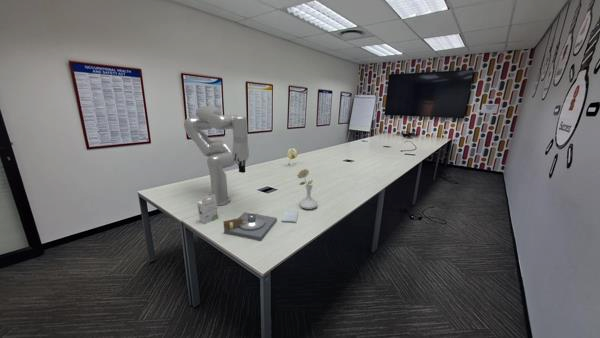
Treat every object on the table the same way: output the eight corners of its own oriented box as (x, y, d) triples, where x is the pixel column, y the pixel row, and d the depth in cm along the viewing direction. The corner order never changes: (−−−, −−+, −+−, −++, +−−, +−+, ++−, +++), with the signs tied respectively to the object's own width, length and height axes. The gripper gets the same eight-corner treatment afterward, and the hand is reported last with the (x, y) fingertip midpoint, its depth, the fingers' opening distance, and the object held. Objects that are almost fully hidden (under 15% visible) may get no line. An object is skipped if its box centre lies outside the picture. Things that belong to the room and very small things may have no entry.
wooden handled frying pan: (227, 236, 109) (226, 228, 108) (221, 222, 121) (221, 215, 120) (269, 226, 119) (269, 218, 118) (260, 214, 131) (260, 207, 129)
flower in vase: (314, 202, 153) (316, 165, 146) (319, 210, 143) (321, 171, 135) (295, 203, 151) (296, 166, 144) (298, 211, 140) (299, 172, 133)
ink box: (213, 215, 133) (211, 191, 129) (218, 218, 130) (216, 193, 126) (199, 221, 127) (196, 196, 123) (203, 224, 124) (201, 198, 120)
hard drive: (296, 221, 127) (298, 211, 139) (281, 220, 127) (284, 210, 139) (296, 224, 127) (298, 213, 139) (281, 223, 128) (284, 212, 140)
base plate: (224, 233, 116) (223, 222, 114) (244, 215, 134) (244, 205, 132) (260, 240, 110) (260, 229, 109) (276, 221, 129) (276, 211, 127)
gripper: (241, 137, 133) (243, 167, 138) (226, 141, 119) (228, 175, 125) (253, 138, 131) (254, 169, 136) (239, 142, 117) (241, 176, 122)
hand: (242, 172), depth 130 cm, fingers closed
